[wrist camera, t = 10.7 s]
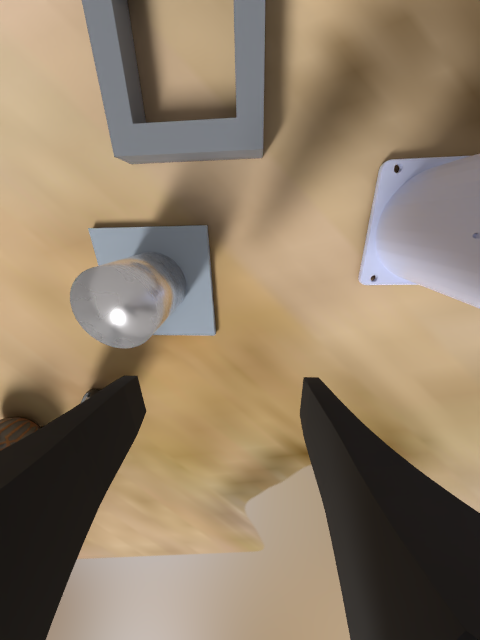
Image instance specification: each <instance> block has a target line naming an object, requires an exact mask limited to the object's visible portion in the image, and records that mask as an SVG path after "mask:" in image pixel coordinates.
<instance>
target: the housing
mask: <svg viewBox="0 0 480 640" xmlns="http://www.w3.org/2000/svg"><path fill="white" fill-rule="evenodd" d="M82 4H83V9H84V13H85V18H86V23H87V28H88V33H89V37H90V42H91V47H92V52H93V57H94V61H95V66H96V71H97V76H98V81H99V85H100V90H101V95H102V100H103V105H104V109H105V114H106V119H107V124H108V129H109V133H110V138H111V143H112V148H113V153H114V157H116V158H119V159H121V160H123V161H125V162H128V163H130V164H143V163H165V162H186V161H207V160H229V159H250V158H262V156H263V128H264V54H265V0H234V32H235V73H236V114H237V118H221V119H205V120H188V121H171V122H155V123H146V119H145V113H144V106H143V100H142V93H141V87H140V80H139V74H138V67H137V61H136V54H135V48H134V41H133V35H132V28H131V22H130V15H129V9H128V2H127V0H82Z"/></svg>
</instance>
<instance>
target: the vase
mask: <svg viewBox="0 0 480 640" xmlns="http://www.w3.org/2000/svg"><path fill="white" fill-rule="evenodd" d="M39 429H40V428H39V427H38V425H36V424H35V423H34V422H32V421H30V420H28V419H25V418H20V417H15V418H5V419H1V420H0V451H1V450H3V449H4V448H6V447H8V446H10V445H12V444H14V443H15V442H17V441H19V440H21V439H23V438H25V437H26V436H28V435H30V434H32V433H33V432H35V431H37V430H39Z"/></svg>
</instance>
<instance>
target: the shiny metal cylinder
mask: <svg viewBox="0 0 480 640" xmlns="http://www.w3.org/2000/svg"><path fill="white" fill-rule="evenodd" d="M185 294H186V280H185V276H184V274H183V272H182V270H181V268H180V267H179V266H178V265H177V263H176V262H174V261H173V260H172V259H171V258H169V257H168V256H166V255H164V254H161V253H157V252H146V253H142V254H138V255H135V256H131V257H128V258H124V259H121V260H117V261H114V262H111V263H107V264H104V265H100V266H97V267H93V268H90V269H87V270H86V271H84V272H82V273H81V274H80V275H79V276H78V277H77V278H76V279H75V281H74V282H73V285H72V287H71V292H70V303H71V307H72V311H73V313H74V315H75V317H76V319H77V321H78V322H79V324H80V325H81V326H82V328H83V329H84V330H85V331H86V332H87V333H88V334H89V335H91V336H92V337H93V338H95V339H96V340H98V341H100V342H101V343H104V344H106V345H109V346H112V347H116V348H133V347H136V346H139V345H141V344H143V343H145V342H146V341H147V340H148V339H149V338H150V337H151V336H152V335H153V334H154V333H155V331H156V330H157V329H158V328H159V327H160V326H161V325H162V324H163V323H164V321H165V320H166V319H167V318H168V317H169V316H170V315H171V314H172V313H173V312H174V310H175V309H176V308H177V307H178V306H179V305H180V304H181V303H182V301H183V299H184V297H185Z"/></svg>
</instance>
